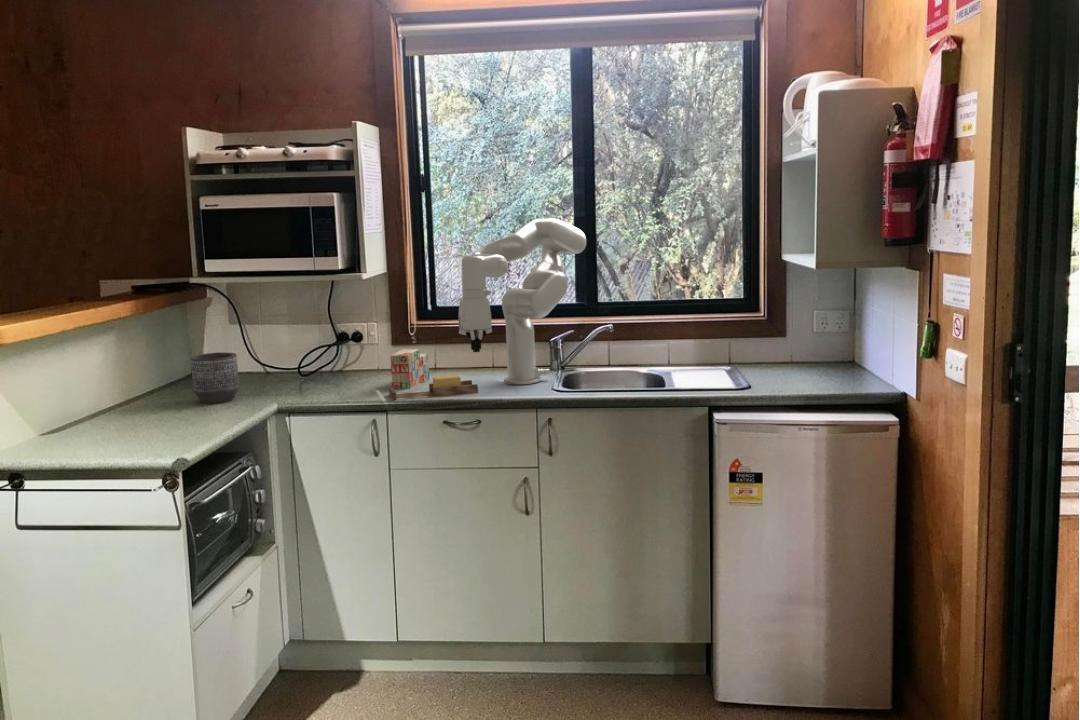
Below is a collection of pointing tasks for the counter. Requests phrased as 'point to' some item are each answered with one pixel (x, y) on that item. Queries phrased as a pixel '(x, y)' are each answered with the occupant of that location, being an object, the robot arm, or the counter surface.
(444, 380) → the block
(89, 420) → the counter surface
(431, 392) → the chute board
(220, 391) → the planter
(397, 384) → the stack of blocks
